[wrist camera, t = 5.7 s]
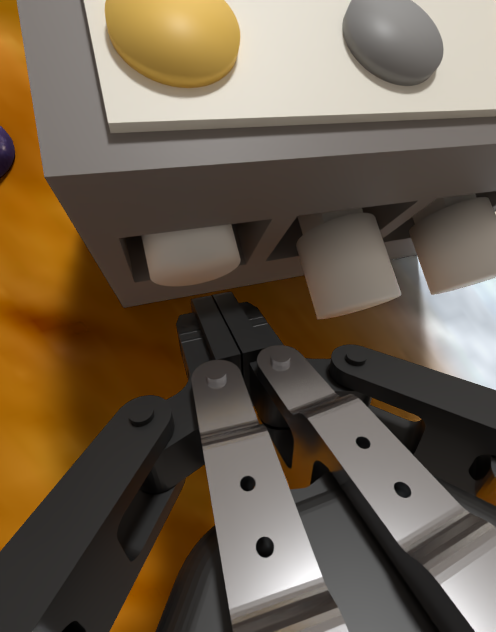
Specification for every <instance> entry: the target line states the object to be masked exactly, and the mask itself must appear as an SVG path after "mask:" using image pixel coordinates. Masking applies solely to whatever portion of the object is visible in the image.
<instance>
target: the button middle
mask: <svg viewBox="0 0 496 632" xmlns="http://www.w3.org/2000/svg"><path fill="white" fill-rule="evenodd" d="M297 217H298V220H299V223H300V227H301V230H302V234H303V236H301V237H300V238H299V240H298V241H297V243H296V247H297V251H298V254H299V258H300V261H301V265H302V268H303V271H304V275H305V278H306V282H307V285H308V289H309V292H310V296H311V299H312V302H313V306H314V309H315V313H316V316H317V319H327V318H332V317H337V316H342V315H346V314H350V313H353V312H357V311H360V310H364V309H367V308H370V307H373V306H376V305H379V304H382V303H385V302H388V301H390V300H393V299H395V298H397V297H399V296H400V295H401V291H400V288H399V285H398V283H397V280H396V277H395V274H394V271H393V268H392V265H391V262H390V259H389V256H388V253H387V250H386V247H385V244H384V241H383V239H382V236H381V233H380V230H379V227H378V224H377V221H376V218H375V216H374V215H373V214H370V213H363V210H362V208H356V209H348V210H340V211H332V212H324V213H316V214H308V215H300V216H297Z"/></svg>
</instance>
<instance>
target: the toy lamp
mask: <svg viewBox="0 0 496 632" xmlns="http://www.w3.org/2000/svg"><path fill="white" fill-rule="evenodd" d="M14 156H15V150H14V145H13V141H12V139H11V138H10V136H9V135H8V133H7V132H6V131H5V130H4V129H3V128H2V127H1V126H0V177H1V176H2V175H3V174H5V173H6V172H7V171H8V169H9V168H10V166H11V165H12V162H13V160H14Z"/></svg>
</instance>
